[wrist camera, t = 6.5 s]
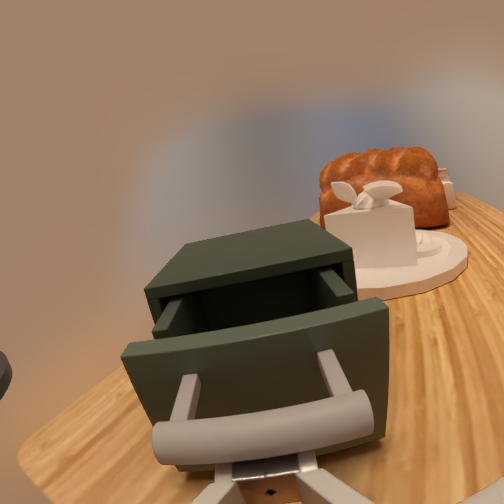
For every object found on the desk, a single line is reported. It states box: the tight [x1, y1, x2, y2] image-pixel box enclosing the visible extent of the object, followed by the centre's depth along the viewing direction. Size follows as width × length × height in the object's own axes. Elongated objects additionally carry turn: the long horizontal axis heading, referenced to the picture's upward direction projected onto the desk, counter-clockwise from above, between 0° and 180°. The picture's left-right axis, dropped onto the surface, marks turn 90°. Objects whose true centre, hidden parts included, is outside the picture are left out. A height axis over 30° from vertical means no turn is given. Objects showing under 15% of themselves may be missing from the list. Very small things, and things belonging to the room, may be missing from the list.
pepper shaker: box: [438, 168, 456, 209], centre depth 62 cm, size 4×4×10 cm
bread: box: [319, 147, 449, 230], centre depth 58 cm, size 14×26×16 cm, turn 57°
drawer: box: [121, 265, 389, 472], centre depth 15 cm, size 16×10×7 cm, turn 1°
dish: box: [324, 180, 468, 301], centre depth 39 cm, size 25×25×11 cm
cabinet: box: [144, 219, 358, 325], centre depth 23 cm, size 12×11×9 cm
